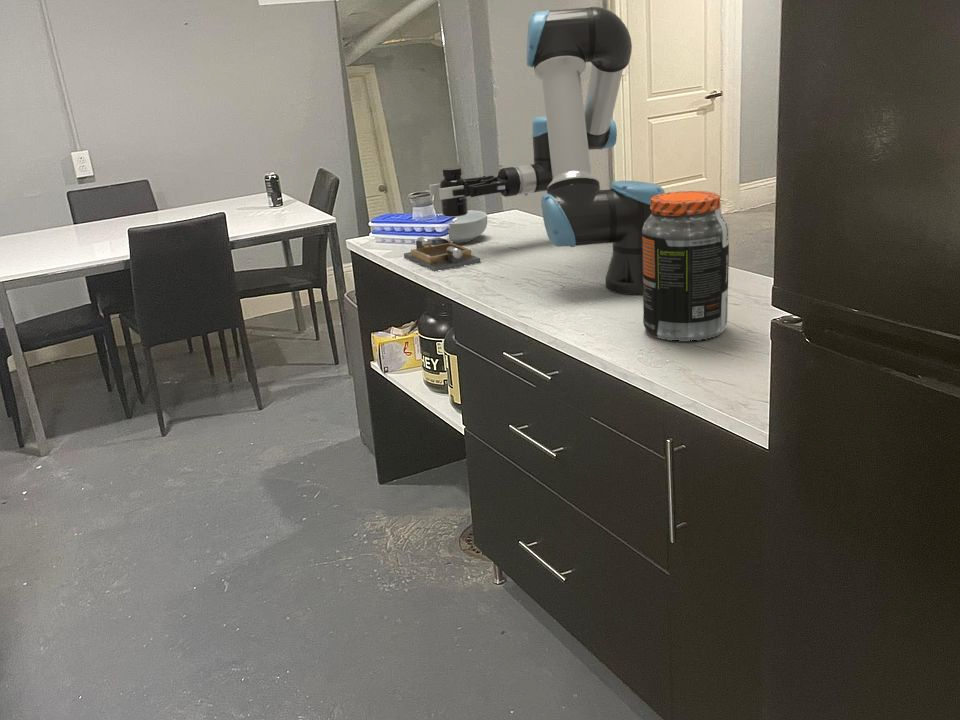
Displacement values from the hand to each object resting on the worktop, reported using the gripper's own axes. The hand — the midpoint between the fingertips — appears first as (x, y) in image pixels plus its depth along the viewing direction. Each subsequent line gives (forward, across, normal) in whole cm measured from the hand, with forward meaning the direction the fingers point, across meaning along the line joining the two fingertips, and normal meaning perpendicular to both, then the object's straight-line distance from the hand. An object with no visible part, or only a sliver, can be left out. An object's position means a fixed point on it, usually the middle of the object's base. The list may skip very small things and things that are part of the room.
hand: (435, 192), depth 233 cm
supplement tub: (-20, -83, -18) cm, 87 cm away
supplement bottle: (-5, 0, -7) cm, 8 cm away
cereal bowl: (-13, +20, -19) cm, 31 cm away
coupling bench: (0, +1, -18) cm, 18 cm away
